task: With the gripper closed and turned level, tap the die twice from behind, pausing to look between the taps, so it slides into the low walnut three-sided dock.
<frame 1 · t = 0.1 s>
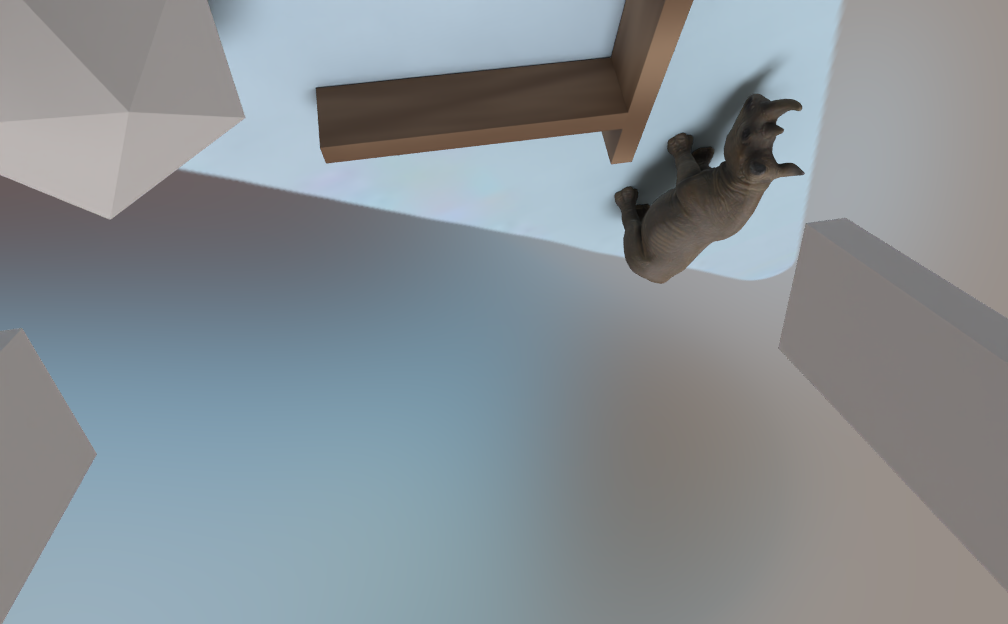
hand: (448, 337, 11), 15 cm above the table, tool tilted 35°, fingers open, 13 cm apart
rhino figurine: (686, 145, 34), on the table
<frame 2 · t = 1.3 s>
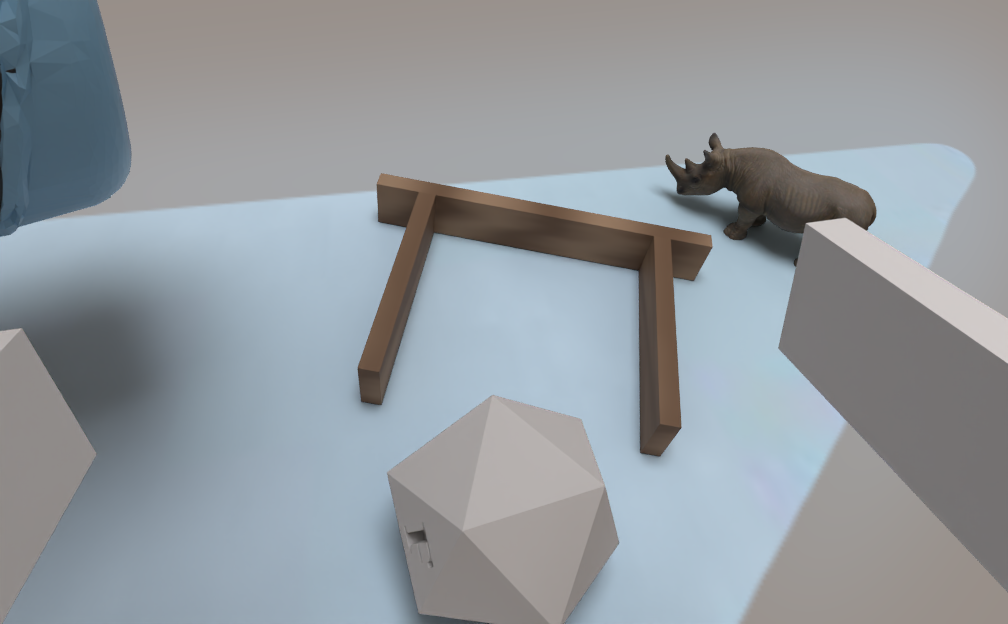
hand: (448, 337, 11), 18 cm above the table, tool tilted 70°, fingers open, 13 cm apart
die: (494, 542, 27), on the table
rhino figurine: (743, 230, 42), on the table
dock: (526, 322, 34), on the table
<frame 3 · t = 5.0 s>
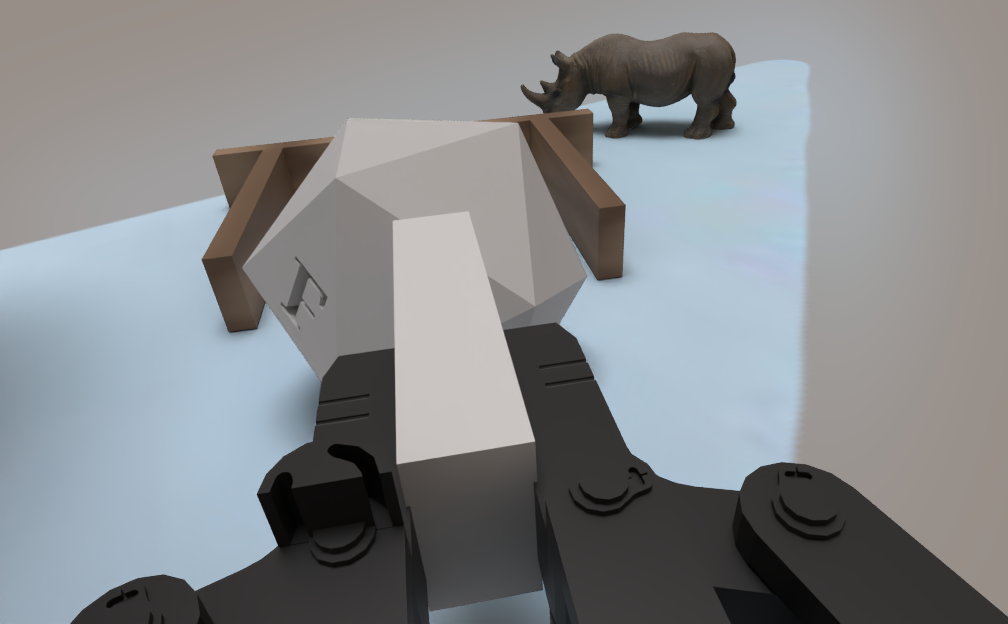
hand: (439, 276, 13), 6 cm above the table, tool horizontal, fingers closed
die: (442, 383, 19), on the table, touching gripper
rhino figurine: (625, 135, 40), on the table
dock: (422, 230, 29), on the table
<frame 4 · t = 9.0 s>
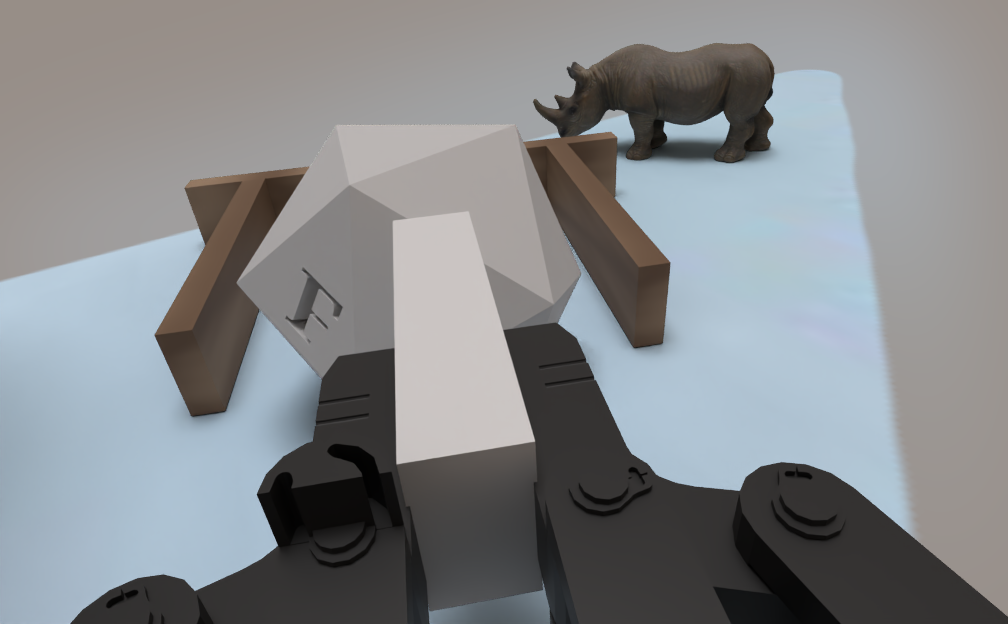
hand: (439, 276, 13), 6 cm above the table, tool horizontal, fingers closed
die: (441, 389, 19), on the table, touching gripper
rhino figurine: (647, 155, 37), on the table
dock: (424, 277, 25), on the table
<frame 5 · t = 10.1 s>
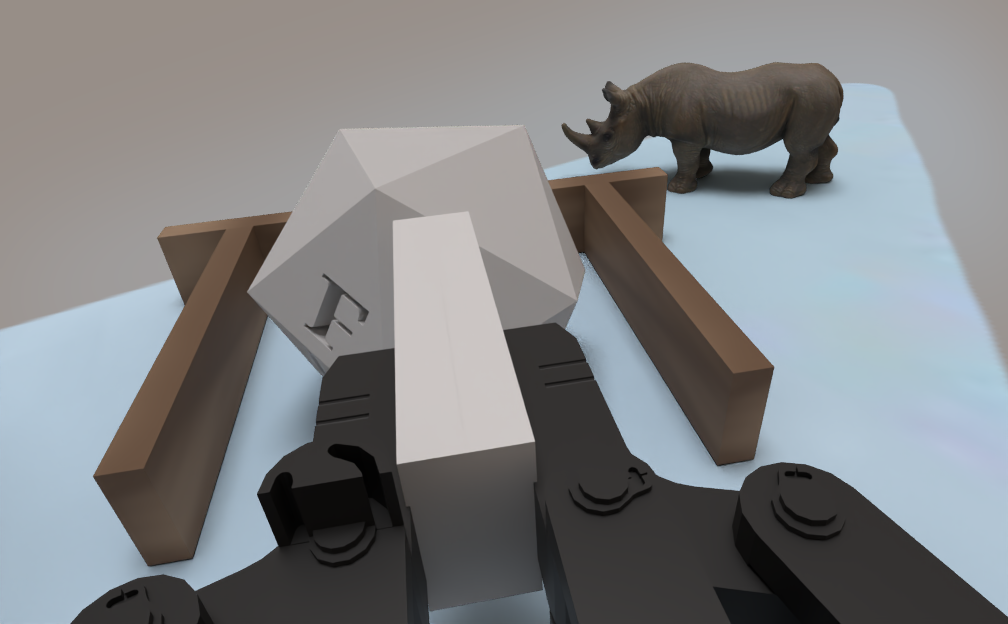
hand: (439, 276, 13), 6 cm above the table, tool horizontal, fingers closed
die: (450, 391, 19), on the table, touching gripper
rhino figurine: (691, 186, 32), on the table
dock: (444, 351, 21), on the table
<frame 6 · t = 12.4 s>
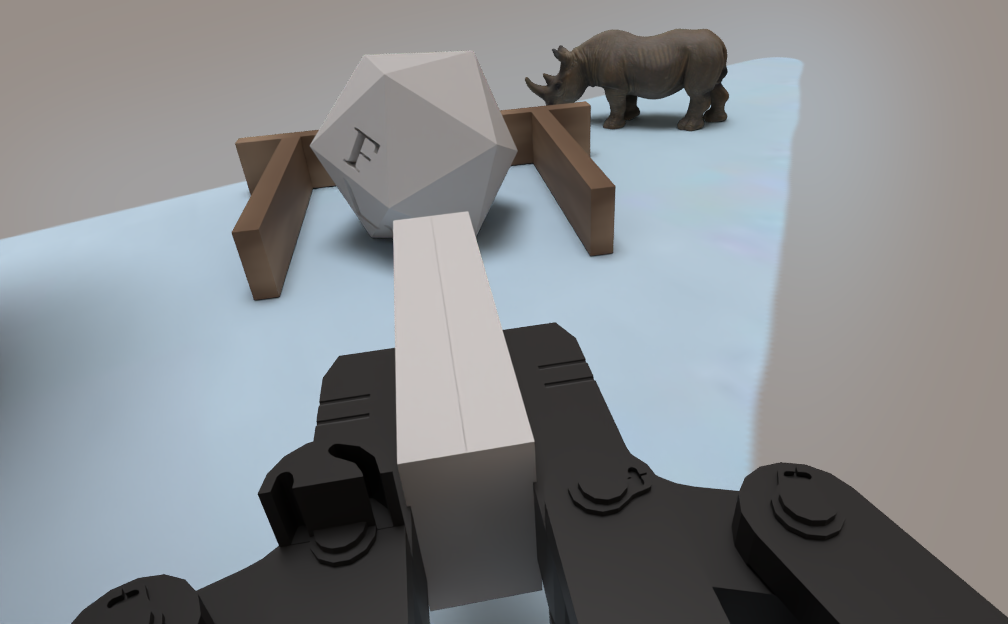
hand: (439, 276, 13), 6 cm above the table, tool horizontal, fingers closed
die: (431, 229, 30), on the table
rhino figurine: (623, 126, 43), on the table
dock: (430, 213, 31), on the table
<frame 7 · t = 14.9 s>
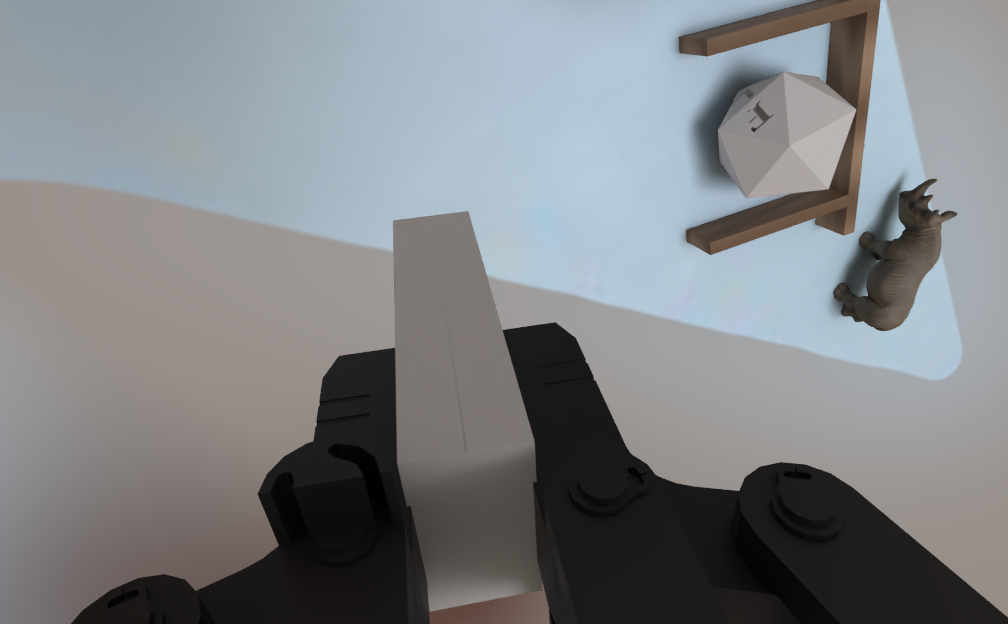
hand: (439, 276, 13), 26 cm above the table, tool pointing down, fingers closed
die: (743, 127, 45), on the table
rhino figurine: (867, 245, 55), on the table
dock: (761, 123, 45), on the table
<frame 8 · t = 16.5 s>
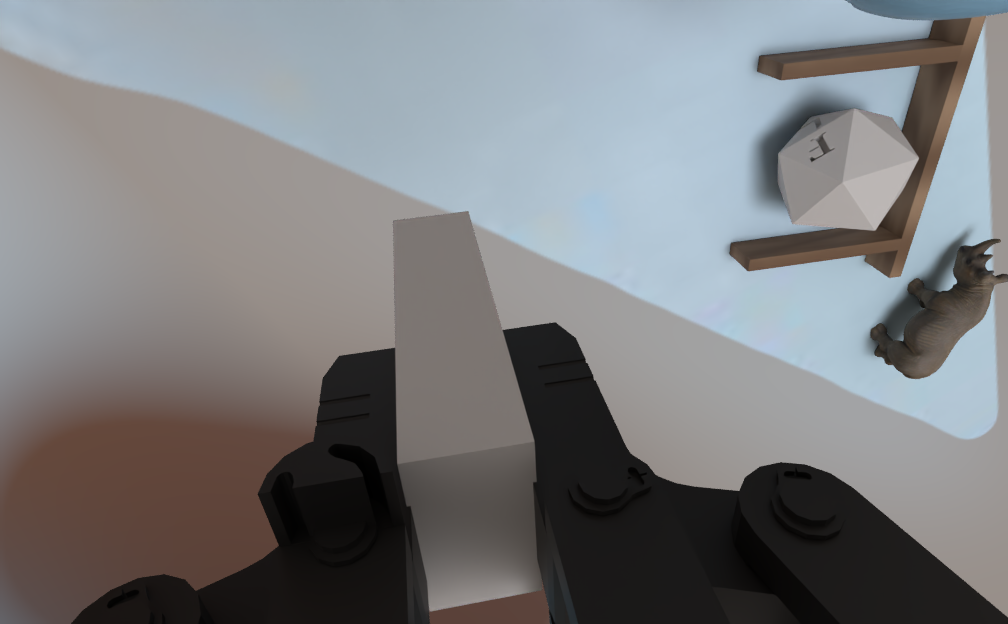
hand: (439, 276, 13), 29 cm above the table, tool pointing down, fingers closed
die: (808, 153, 46), on the table
rhino figurine: (916, 291, 55), on the table
dock: (828, 153, 46), on the table
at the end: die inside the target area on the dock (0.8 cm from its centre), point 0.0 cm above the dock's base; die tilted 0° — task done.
